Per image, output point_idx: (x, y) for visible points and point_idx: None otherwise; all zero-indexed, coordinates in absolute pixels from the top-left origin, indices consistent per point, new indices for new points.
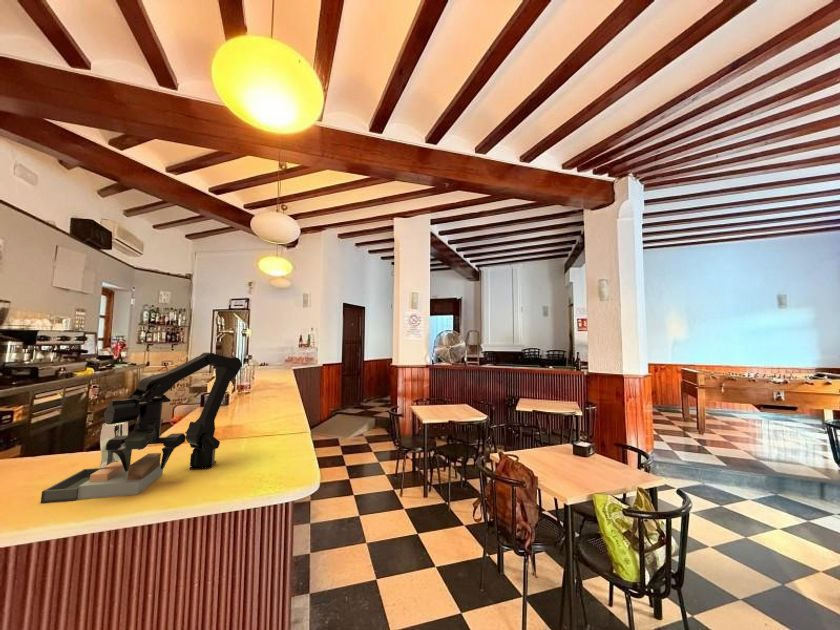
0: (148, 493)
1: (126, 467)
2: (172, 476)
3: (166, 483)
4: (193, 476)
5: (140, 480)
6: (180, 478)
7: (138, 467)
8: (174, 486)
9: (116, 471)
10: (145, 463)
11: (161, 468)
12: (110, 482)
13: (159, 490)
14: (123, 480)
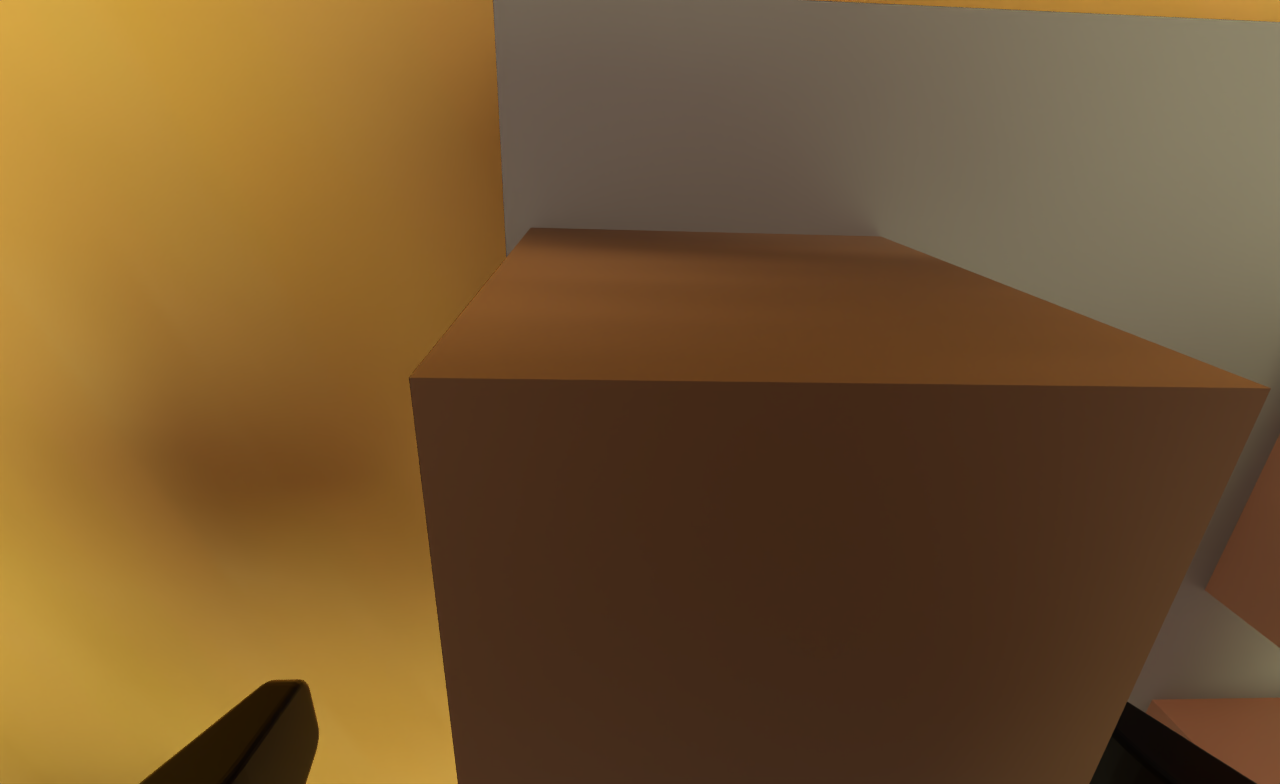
0: (354, 55)
1: (1135, 746)
2: (377, 705)
3: (303, 474)
4: (38, 663)
5: (508, 112)
6: (201, 624)
7: (671, 325)
8: (57, 313)
9: (1227, 728)
10: (446, 645)
11: (273, 691)
12: (1255, 141)
13: (224, 171)
14: (970, 233)
